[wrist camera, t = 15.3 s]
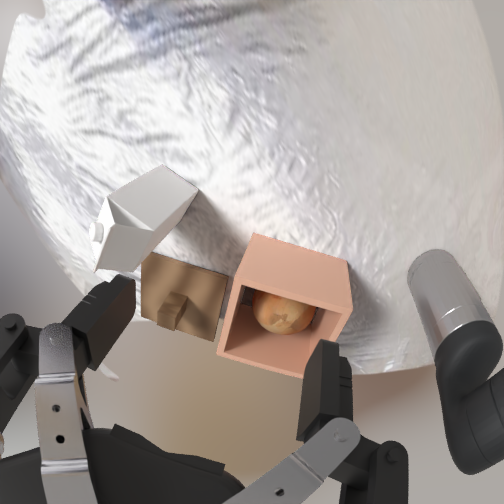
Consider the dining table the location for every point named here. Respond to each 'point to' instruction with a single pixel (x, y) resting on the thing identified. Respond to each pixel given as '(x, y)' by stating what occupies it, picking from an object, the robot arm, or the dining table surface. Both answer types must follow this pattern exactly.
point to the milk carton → (139, 218)
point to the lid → (181, 295)
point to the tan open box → (292, 287)
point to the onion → (281, 313)
